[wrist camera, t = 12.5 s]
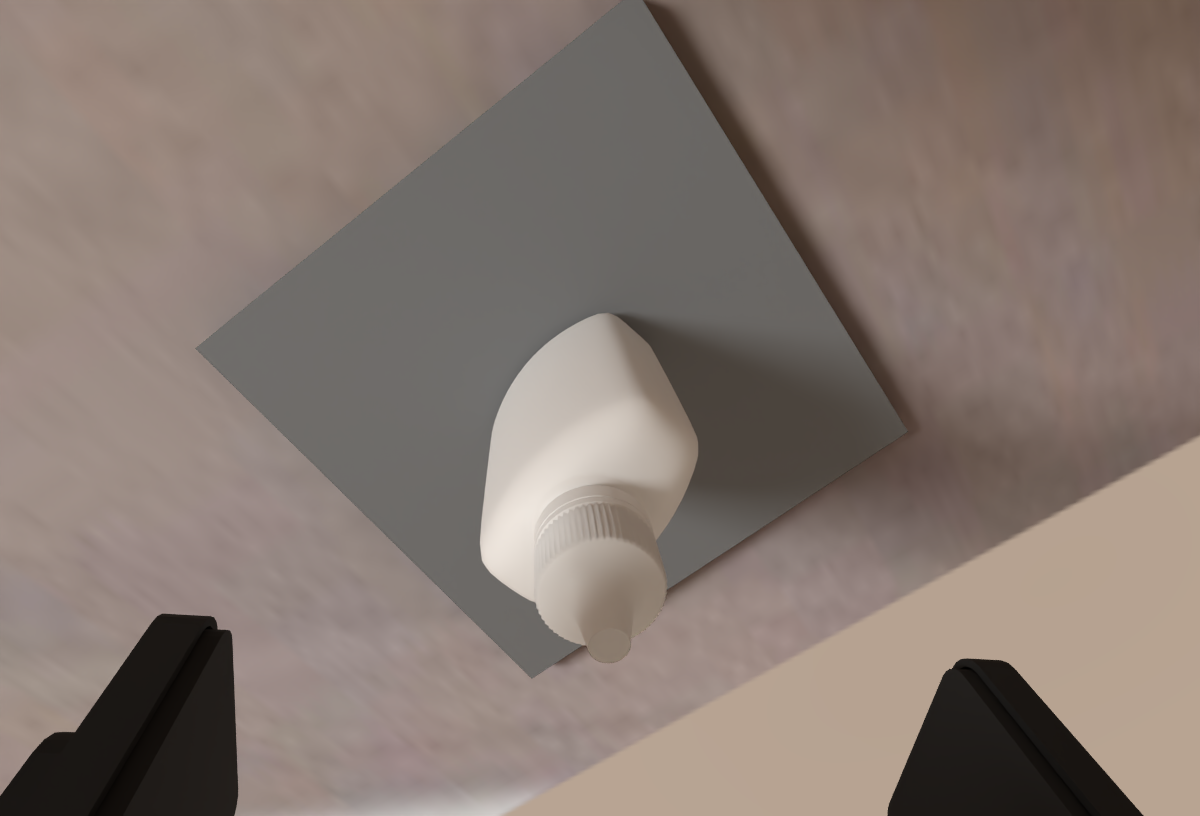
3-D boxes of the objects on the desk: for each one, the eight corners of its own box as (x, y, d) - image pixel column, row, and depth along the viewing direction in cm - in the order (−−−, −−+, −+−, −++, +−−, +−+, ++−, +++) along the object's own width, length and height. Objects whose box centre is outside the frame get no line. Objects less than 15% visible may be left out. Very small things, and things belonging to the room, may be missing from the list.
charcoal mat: (209, 339, 22) (195, 348, 21) (631, -5, 20) (635, -11, 19) (531, 660, 28) (531, 678, 27) (894, 420, 25) (908, 431, 24)
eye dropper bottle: (674, 421, 24) (803, 690, 13) (512, 477, 24) (495, 790, 13) (635, 297, 22) (741, 477, 11) (460, 357, 22) (391, 596, 11)
